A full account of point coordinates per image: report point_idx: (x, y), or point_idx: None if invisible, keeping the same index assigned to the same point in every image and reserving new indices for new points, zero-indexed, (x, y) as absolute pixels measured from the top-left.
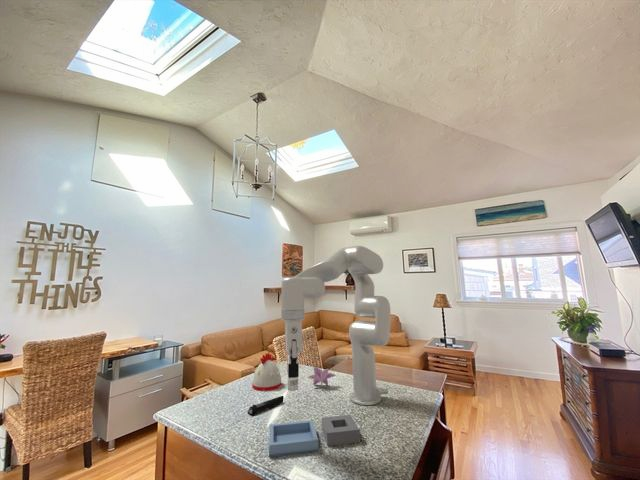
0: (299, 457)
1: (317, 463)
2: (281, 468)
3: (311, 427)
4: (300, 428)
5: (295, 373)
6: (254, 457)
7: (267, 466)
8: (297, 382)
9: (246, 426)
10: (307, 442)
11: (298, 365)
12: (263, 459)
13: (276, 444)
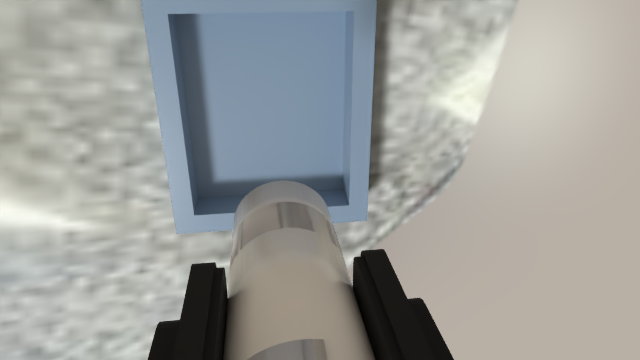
0: (387, 80)
1: (449, 3)
2: (435, 151)
3: (236, 8)
4: (178, 66)
5: (422, 309)
6: (344, 248)
7: (409, 199)
8: (313, 216)
9: (95, 313)
10: (373, 47)
11: (427, 345)
12: None
13: (367, 191)
